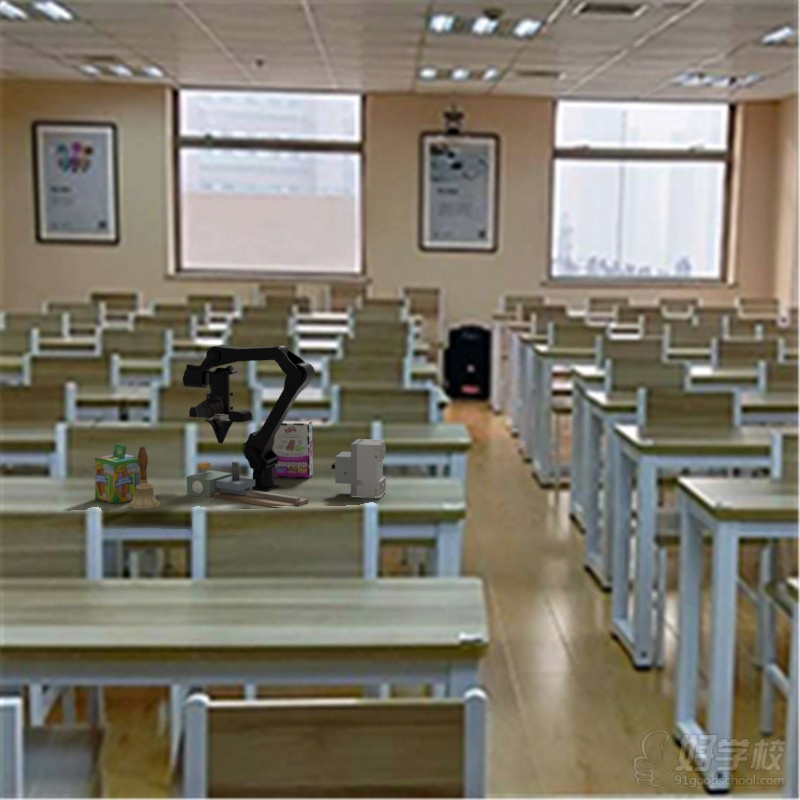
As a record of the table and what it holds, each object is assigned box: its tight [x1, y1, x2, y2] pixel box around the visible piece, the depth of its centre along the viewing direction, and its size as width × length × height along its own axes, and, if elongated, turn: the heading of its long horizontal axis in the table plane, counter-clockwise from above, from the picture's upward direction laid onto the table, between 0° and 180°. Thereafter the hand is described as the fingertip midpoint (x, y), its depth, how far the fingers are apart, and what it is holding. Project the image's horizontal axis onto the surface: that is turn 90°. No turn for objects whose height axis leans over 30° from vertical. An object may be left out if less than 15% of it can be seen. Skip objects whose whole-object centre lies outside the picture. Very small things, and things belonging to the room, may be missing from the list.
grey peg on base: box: [216, 461, 255, 495], centre depth 321 cm, size 7×8×8 cm
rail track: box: [211, 488, 309, 507], centre depth 317 cm, size 9×26×2 cm, turn 60°
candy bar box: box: [272, 420, 314, 479], centre depth 347 cm, size 11×5×16 cm, turn 82°
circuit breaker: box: [330, 438, 387, 498], centre depth 324 cm, size 8×14×15 cm, turn 78°
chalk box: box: [94, 443, 141, 505], centre depth 317 cm, size 9×9×15 cm
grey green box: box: [186, 469, 232, 499], centre depth 325 cm, size 10×8×5 cm
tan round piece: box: [196, 461, 211, 473], centre depth 326 cm, size 4×4×2 cm
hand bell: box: [128, 446, 161, 510], centre depth 309 cm, size 8×8×16 cm
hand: (220, 443), depth 335 cm, fingers closed
